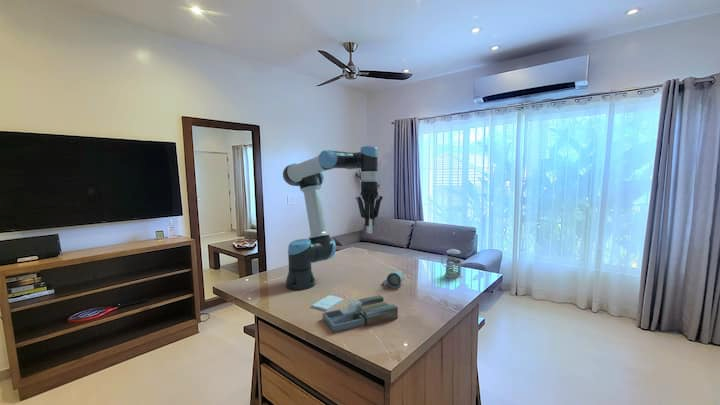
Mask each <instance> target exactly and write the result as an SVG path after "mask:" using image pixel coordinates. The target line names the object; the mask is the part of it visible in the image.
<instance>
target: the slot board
mask: <svg viewBox="0 0 720 405" xmlns="http://www.w3.org/2000/svg"><path fill="white" fill-rule="evenodd" d="M358 300H359V301H360V302H362V313H360V315H361V316H362V317H364V318H365V325H366V326H367V327H369V326H373V325H377V324H380V323H385V322H389V321H393V320H396V319H398V318H399V316H398V315H399V314H398V312H399V310H398V309H399V307H398V306H397V305H396V304H388V303H387V301H384V297H383V296H382V295H381V294H378V295H374V296H373V295H372V296H369V297H365V298H359V299H358Z"/></svg>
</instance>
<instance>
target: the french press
mask: <svg viewBox="0 0 720 405" xmlns="http://www.w3.org/2000/svg"><path fill="white" fill-rule="evenodd" d="M451 234H452V235H456V232H455V231H454V232H452V233H451ZM446 253H447V254H446ZM446 253H445V254H443V255H442V257H441V260H440V261H441V265H444V263H443V261H444V257H447V258H446V259H447V260H446V264H445V265H444V268H445V273H444V276H445V277H447V278H451V279H461V278H463V275H462V273H461V272H462V271H461V270H462V269H461V268H462V267H461V266H462V263H461V261H460V260H461V259H460V257H459V258H458V257H455V255H460V254H461V253H462V251H460V250H458V249H456V248H450V249H447V250H446ZM448 254H450V255H453V256H449V257H448Z"/></svg>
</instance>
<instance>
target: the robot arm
mask: <svg viewBox="0 0 720 405" xmlns="http://www.w3.org/2000/svg"><path fill="white" fill-rule="evenodd" d="M378 158H379V155H378V148H377V146H373V145H366V146H365V145H363V146H362V147H360V151H358V152H357V151H356V152H349V151H338V150H325V149H324V150H322V151H321V152H320V153H319V154H318V155H317V156H315V157H313V158H310V159H307V160H304V161H302V162H299V163H291V164H289V165H286V166H285V167H284V168H283V171H282V179H283V180H284V182H285V183H286V184H288V185H290V186H292V187H299V190H300V191H301V192H302V193H303V196H304V201H305V207H306V213H307V220H308V226H309V232H310V235H309V237H308V238H300V239H296V240H293V241H291V242H289V244H288V248H287V254H288V259H287V260H288V273H287V276H286V280H285V287H286V288H287V289H288V290H293V291H299V290H300V291H302V290H307V289H310V288H311V289H312V287H313V288H314V287H315V285H316V279H315V276H314V273H313V270H312V264H314V263H318V262H323V261H327V260H329V259H331V258H333V257H334V256H335V254H336V250H337V244H336V241H335V240H334V238H332V237H330V233H328V232H327V229H326V223H325V219H324V213H323V207H322V206H323V205H322V201H321V194H320V189H321V188H322V184H323V183H324V174H323V173H324V172H326V171H330V170H333V169H346V170H357V169H360V181H361V182H360V194H359V195H358V196H356V197H355V200H356V201H357V205H358V209H359V214H360V218H362V219H364V226H365V227H366V234H373V226H374V225H375V219H376V218H378V216H379V213H380V212H379V211H380V206H381V203H382V200H383V196H382V195H381V194H379V192H378V188H379V187H378V185H379V184H378V179H379V178H378V162H379V160H378Z"/></svg>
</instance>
